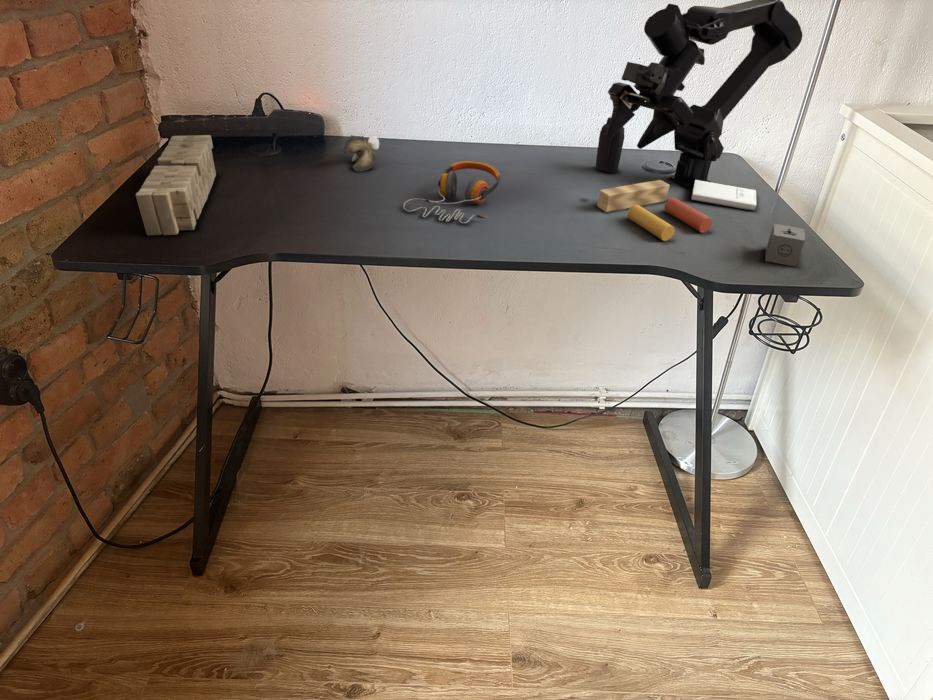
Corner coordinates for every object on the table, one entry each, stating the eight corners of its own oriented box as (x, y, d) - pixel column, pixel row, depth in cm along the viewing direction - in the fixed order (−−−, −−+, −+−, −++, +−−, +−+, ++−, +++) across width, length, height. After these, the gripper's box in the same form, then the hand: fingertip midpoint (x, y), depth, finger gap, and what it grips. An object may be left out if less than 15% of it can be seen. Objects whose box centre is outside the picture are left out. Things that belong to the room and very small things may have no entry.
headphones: (395, 199, 129) (442, 145, 140) (399, 222, 132) (444, 167, 144) (477, 219, 123) (518, 161, 135) (478, 242, 127) (518, 184, 139)
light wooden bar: (656, 195, 142) (660, 179, 140) (666, 201, 140) (669, 184, 138) (597, 206, 136) (599, 189, 134) (606, 212, 134) (608, 195, 132)
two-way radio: (620, 170, 153) (632, 102, 144) (612, 176, 150) (624, 107, 141) (597, 165, 155) (608, 97, 146) (589, 171, 152) (600, 101, 143)
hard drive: (693, 186, 146) (753, 196, 144) (690, 200, 140) (754, 211, 137) (695, 178, 145) (756, 188, 143) (692, 193, 139) (756, 204, 136)
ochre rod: (638, 217, 133) (641, 203, 131) (672, 239, 125) (676, 224, 124) (626, 220, 131) (628, 205, 130) (659, 242, 124) (662, 227, 122)
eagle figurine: (341, 150, 153) (333, 156, 145) (358, 123, 151) (351, 128, 142) (370, 170, 155) (364, 178, 147) (387, 144, 152) (382, 150, 144)
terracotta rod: (674, 210, 136) (678, 196, 134) (709, 231, 129) (713, 216, 127) (663, 213, 135) (666, 198, 133) (697, 234, 128) (701, 219, 126)
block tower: (193, 239, 120) (219, 172, 143) (183, 194, 115) (212, 132, 138) (146, 240, 119) (179, 172, 142) (134, 194, 114) (171, 132, 137)
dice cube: (765, 260, 120) (773, 234, 117) (765, 249, 124) (774, 223, 121) (795, 266, 118) (804, 240, 116) (795, 254, 122) (804, 228, 119)
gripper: (617, 37, 130) (569, 108, 133) (686, 49, 116) (631, 128, 118) (647, 73, 137) (601, 140, 140) (716, 88, 123) (664, 162, 125)
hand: (622, 142), depth 131 cm, fingers open, 9 cm apart
